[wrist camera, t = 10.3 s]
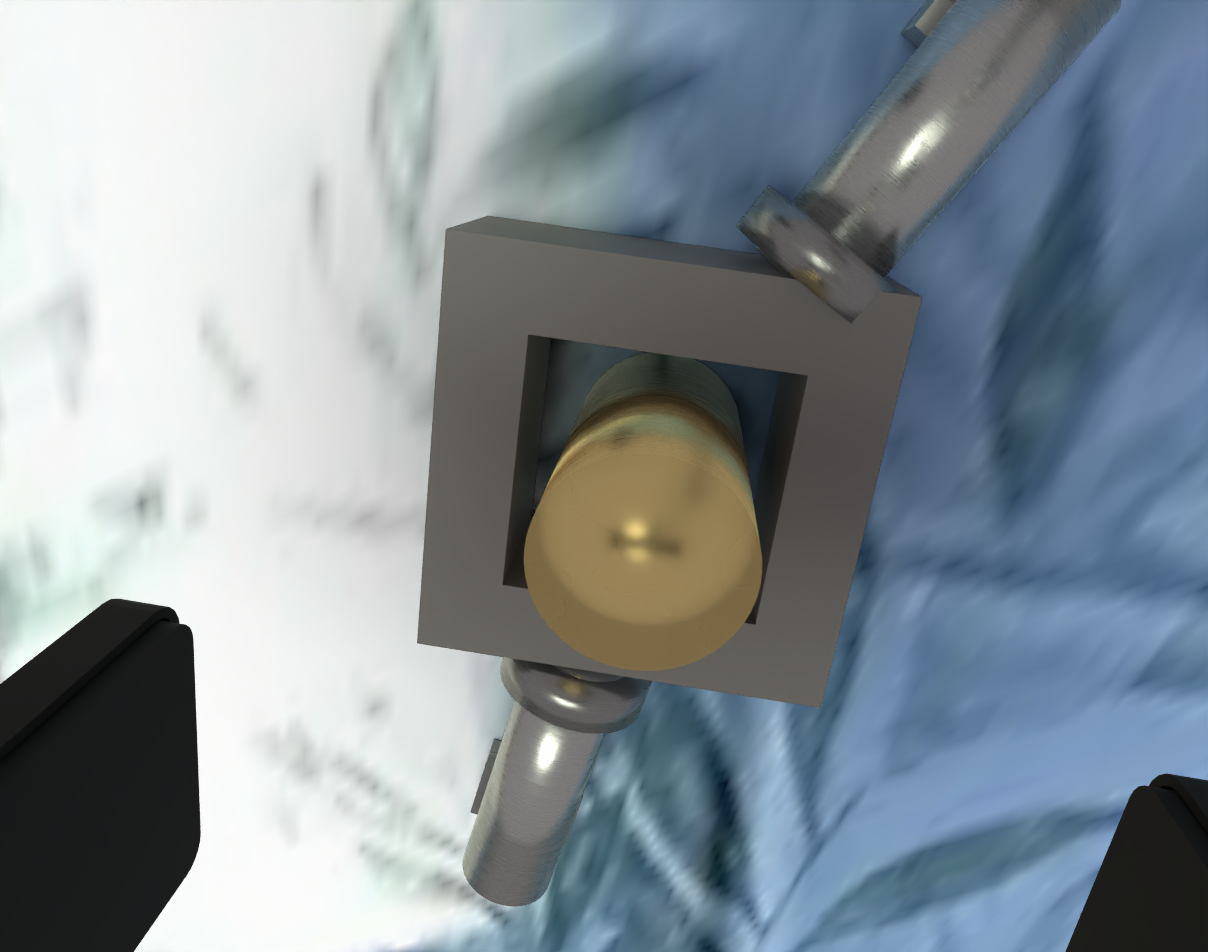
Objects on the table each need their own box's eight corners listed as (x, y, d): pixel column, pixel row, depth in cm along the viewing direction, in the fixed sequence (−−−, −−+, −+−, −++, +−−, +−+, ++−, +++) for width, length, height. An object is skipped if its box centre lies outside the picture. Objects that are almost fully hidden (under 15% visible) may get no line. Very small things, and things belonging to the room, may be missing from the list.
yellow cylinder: (753, 364, 22) (783, 472, 15) (725, 516, 24) (739, 688, 16) (589, 340, 22) (535, 436, 15) (571, 493, 24) (513, 651, 16)
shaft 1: (530, 580, 25) (499, 664, 21) (658, 621, 25) (652, 713, 21) (463, 789, 27) (424, 900, 23) (580, 825, 27) (561, 943, 23)
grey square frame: (880, 271, 21) (922, 297, 17) (799, 622, 24) (820, 708, 21) (488, 216, 22) (446, 229, 18) (458, 568, 25) (417, 643, 21)
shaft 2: (845, 318, 22) (882, 356, 18) (727, 221, 21) (737, 237, 17) (1081, 49, 19) (1184, 23, 15) (954, -66, 19) (1027, -126, 15)
